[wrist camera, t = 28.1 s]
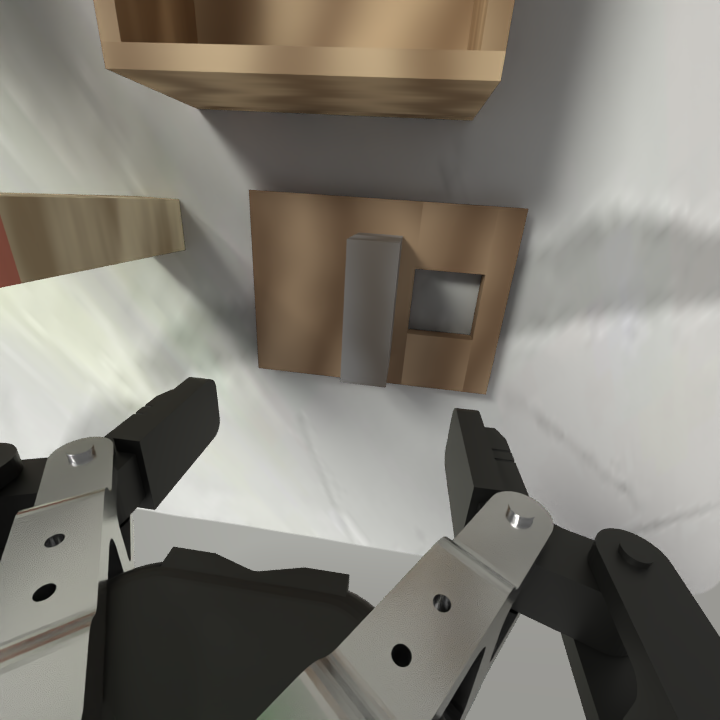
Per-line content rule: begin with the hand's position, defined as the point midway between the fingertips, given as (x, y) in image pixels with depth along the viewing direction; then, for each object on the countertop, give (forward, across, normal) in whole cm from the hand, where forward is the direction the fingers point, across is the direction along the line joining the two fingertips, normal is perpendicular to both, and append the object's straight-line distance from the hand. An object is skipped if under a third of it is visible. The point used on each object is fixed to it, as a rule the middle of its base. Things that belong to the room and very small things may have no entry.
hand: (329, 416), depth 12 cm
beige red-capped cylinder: (+17, +17, -4) cm, 24 cm away
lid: (+17, 0, 0) cm, 17 cm away
